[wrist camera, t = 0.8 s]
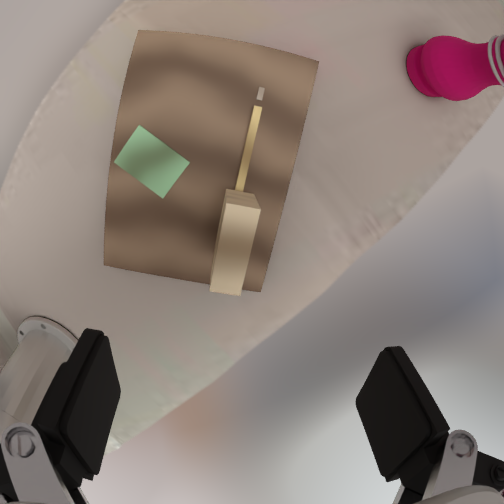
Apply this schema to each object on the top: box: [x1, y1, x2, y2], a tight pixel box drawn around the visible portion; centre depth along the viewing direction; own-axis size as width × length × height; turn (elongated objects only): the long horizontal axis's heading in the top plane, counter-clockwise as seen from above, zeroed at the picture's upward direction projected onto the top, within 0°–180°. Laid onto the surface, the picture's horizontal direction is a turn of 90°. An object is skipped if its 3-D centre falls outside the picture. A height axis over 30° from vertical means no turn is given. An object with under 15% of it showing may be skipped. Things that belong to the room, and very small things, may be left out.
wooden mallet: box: [210, 105, 262, 296], centre depth 24 cm, size 14×2×7 cm, turn 167°
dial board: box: [104, 30, 319, 292], centre depth 26 cm, size 24×17×2 cm
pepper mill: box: [407, 35, 504, 101], centre depth 15 cm, size 7×7×20 cm
